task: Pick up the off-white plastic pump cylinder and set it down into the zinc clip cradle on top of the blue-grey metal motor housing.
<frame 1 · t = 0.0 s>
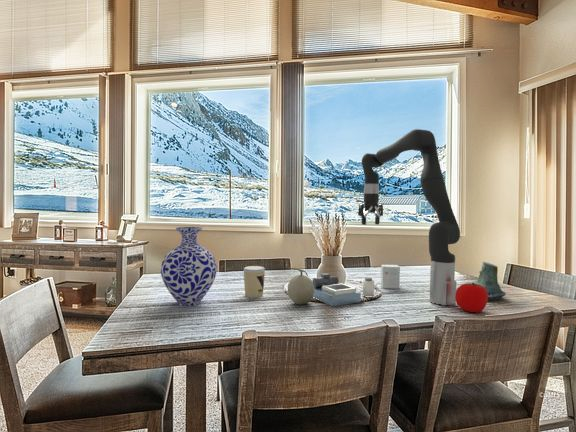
hand: (370, 224, 194), 29 cm above the table, fingers open, 8 cm apart
pump module: (368, 296, 165), on the table
small box: (390, 287, 183), on the table
vase: (189, 303, 151), on the table
coffee cup: (254, 295, 164), on the table
tree stump: (478, 297, 167), on the table
motor housing: (333, 298, 160), on the table
tomato: (471, 311, 145), on the table
fruit: (301, 303, 152), on the table
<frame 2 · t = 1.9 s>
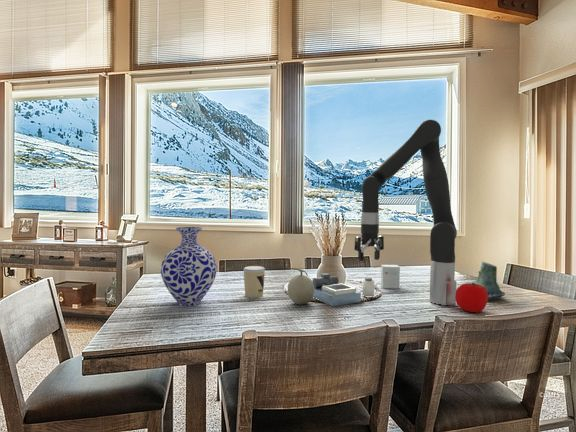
hand: (369, 260, 164), 16 cm above the table, fingers open, 8 cm apart
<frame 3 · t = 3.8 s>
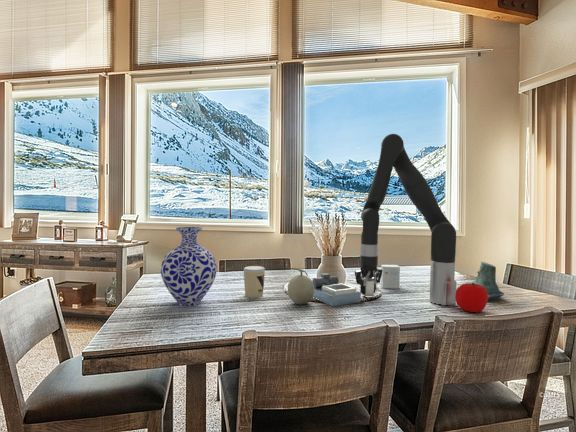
hand: (368, 293, 165), 1 cm above the table, fingers closed on pump module, 4 cm apart
pump module: (368, 296, 165), on the table, touching gripper
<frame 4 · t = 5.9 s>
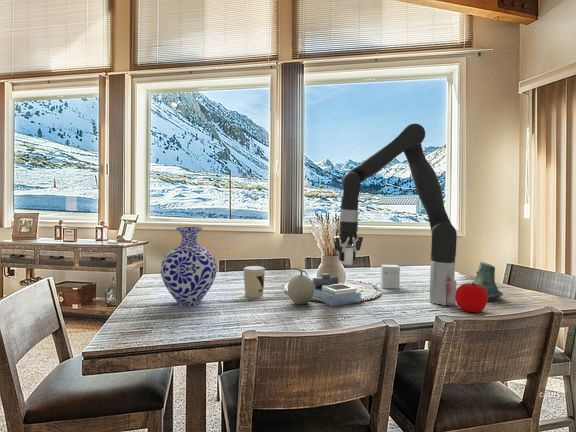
hand: (347, 260, 160), 16 cm above the table, fingers closed on pump module, 4 cm apart
pump module: (346, 263, 160), point 15 cm above the table, touching gripper
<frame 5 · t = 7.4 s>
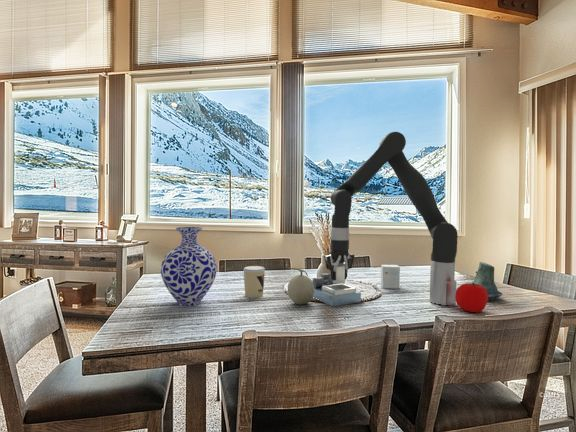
hand: (338, 279, 157), 9 cm above the table, fingers closed on pump module, 4 cm apart
pump module: (338, 282, 157), point 8 cm above the table, touching gripper
when the fingers open (6 cm above the table, at t = 8.3 s): pump module stays where it is, resting on motor housing.
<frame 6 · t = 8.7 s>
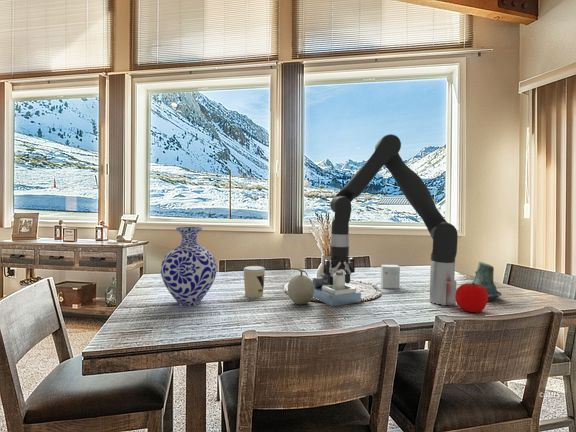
hand: (339, 284, 156), 7 cm above the table, fingers open, 8 cm apart
pump module: (338, 291, 157), point 4 cm above the table, touching motor housing
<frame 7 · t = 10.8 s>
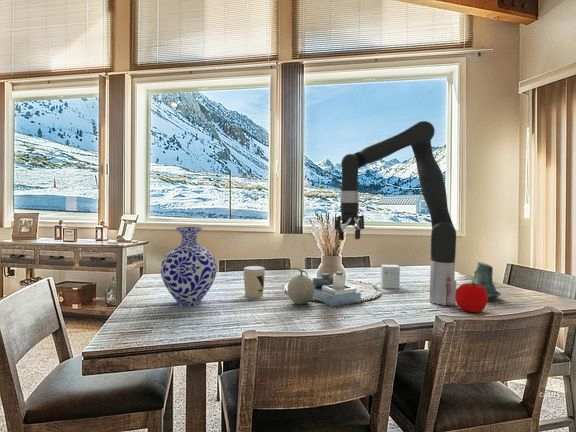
hand: (349, 239, 162), 25 cm above the table, fingers open, 8 cm apart
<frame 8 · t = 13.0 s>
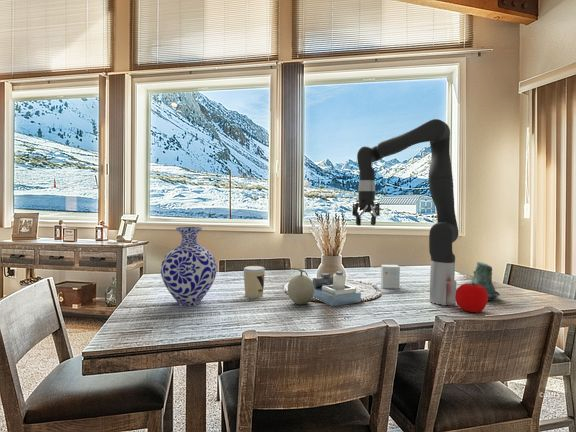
hand: (365, 225, 176), 30 cm above the table, fingers open, 8 cm apart
at the end: pump module inside the target area on the motor housing (0.0 cm from its centre), point 4.0 cm above the motor housing's base; pump module tilted 0°; the gripper is holding nothing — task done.
